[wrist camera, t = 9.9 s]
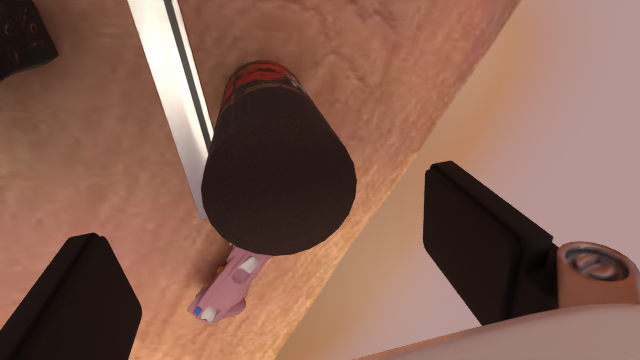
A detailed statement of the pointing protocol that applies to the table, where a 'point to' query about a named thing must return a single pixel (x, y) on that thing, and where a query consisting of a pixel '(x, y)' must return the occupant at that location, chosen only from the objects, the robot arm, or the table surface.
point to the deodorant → (275, 166)
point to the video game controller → (228, 287)
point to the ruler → (176, 85)
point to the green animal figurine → (22, 38)
